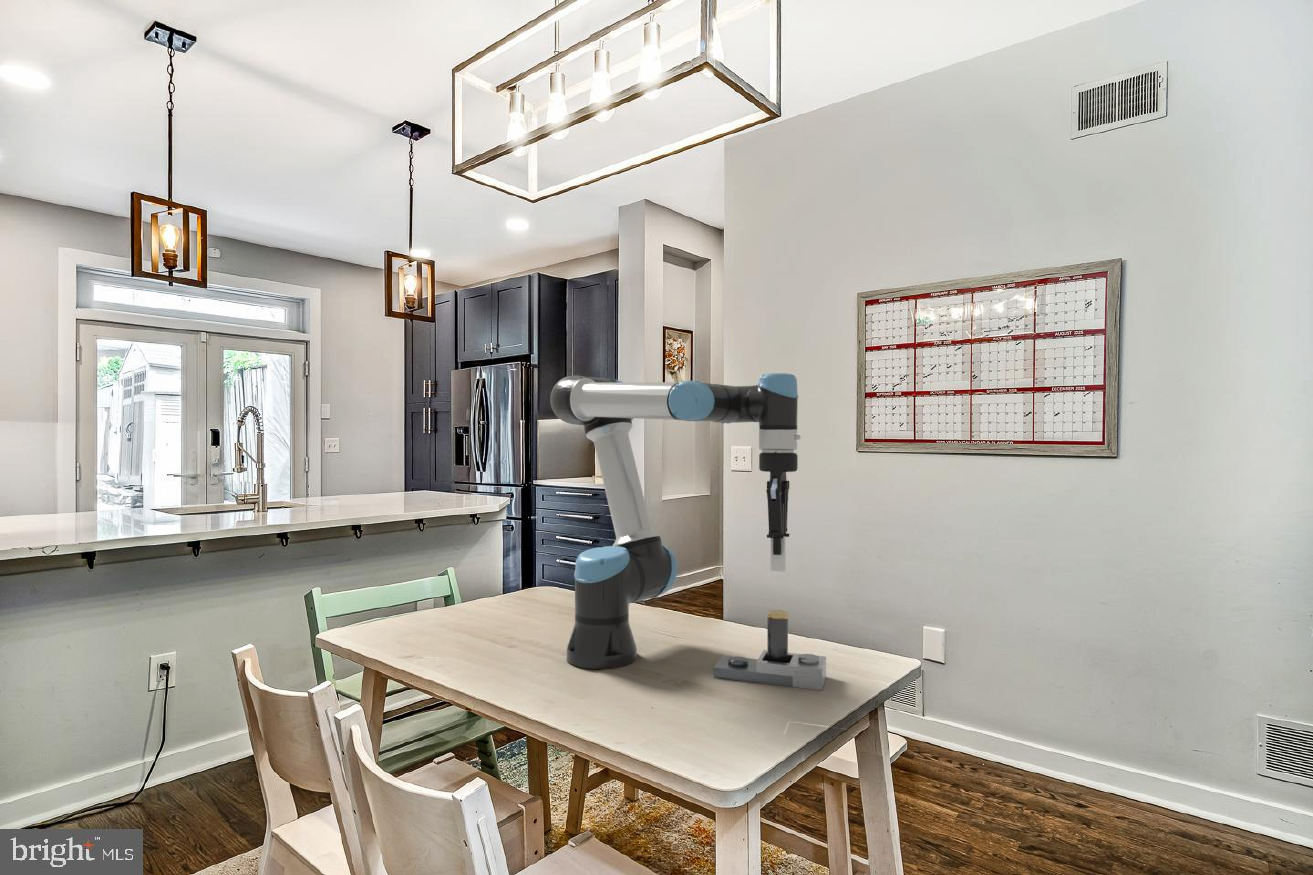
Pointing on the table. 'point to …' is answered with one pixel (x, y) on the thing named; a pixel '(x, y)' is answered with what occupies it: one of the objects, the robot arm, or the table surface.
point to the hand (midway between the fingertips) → (778, 570)
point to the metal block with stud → (775, 670)
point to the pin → (777, 636)
